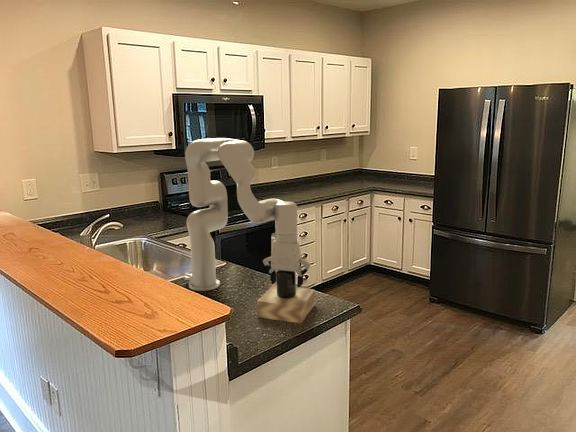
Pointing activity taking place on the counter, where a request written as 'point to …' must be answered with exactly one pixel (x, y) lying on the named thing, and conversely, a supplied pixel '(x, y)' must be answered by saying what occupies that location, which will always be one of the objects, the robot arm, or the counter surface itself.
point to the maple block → (286, 305)
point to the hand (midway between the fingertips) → (286, 284)
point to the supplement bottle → (286, 284)
